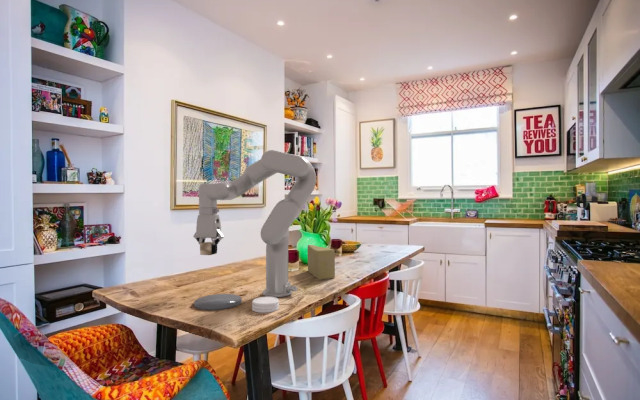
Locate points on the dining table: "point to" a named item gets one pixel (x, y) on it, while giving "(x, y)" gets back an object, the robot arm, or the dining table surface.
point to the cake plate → (217, 302)
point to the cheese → (321, 262)
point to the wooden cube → (206, 248)
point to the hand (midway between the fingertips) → (208, 252)
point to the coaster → (265, 304)
